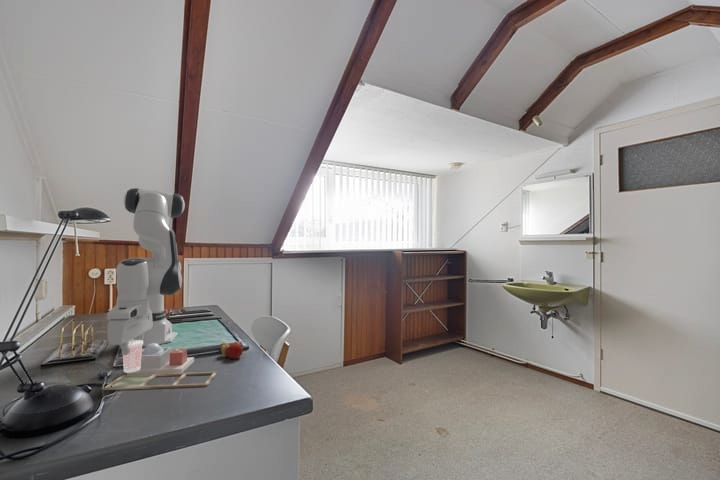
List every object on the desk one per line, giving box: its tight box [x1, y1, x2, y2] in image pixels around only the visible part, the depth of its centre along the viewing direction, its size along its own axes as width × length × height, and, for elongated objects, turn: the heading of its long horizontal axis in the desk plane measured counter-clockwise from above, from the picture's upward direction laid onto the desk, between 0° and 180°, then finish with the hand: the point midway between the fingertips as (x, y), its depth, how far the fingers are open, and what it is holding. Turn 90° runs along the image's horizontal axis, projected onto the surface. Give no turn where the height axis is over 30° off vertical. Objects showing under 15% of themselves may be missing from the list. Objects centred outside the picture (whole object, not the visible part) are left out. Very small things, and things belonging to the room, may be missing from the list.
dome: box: [142, 343, 164, 355], centre depth 125 cm, size 7×7×7 cm
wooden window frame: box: [103, 371, 218, 391], centre depth 113 cm, size 11×31×1 cm, turn 97°
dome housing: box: [126, 346, 195, 375], centre depth 125 cm, size 12×18×6 cm, turn 97°
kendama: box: [219, 341, 243, 360], centre depth 141 cm, size 8×6×18 cm
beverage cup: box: [122, 339, 143, 374], centre depth 112 cm, size 6×6×14 cm
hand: (132, 350), depth 112 cm, fingers closed on beverage cup, 6 cm apart
